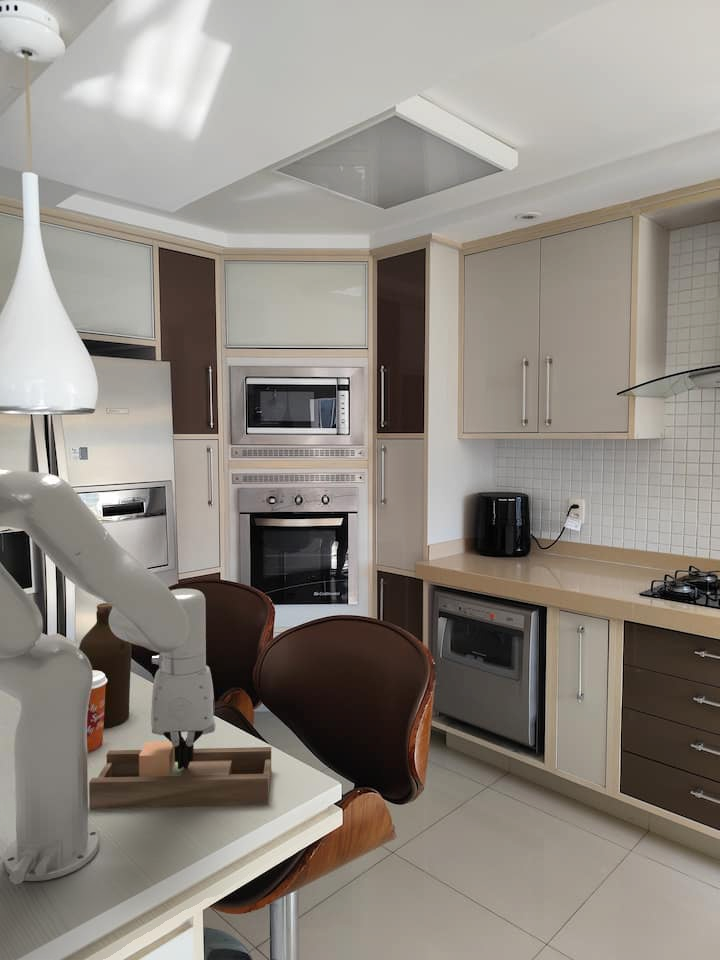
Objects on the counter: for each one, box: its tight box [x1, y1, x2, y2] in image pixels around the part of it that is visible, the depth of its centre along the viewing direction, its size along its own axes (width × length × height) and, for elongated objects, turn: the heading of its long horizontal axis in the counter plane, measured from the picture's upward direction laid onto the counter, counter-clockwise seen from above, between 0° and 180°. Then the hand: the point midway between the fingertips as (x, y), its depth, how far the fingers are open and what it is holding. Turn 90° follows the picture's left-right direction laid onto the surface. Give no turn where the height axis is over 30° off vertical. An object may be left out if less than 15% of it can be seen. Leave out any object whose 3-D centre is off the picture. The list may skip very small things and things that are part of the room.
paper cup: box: [87, 670, 107, 753], centre depth 130 cm, size 8×8×14 cm
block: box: [139, 741, 175, 777], centre depth 115 cm, size 5×5×4 cm
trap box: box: [88, 746, 272, 810], centre depth 115 cm, size 11×29×4 cm, turn 95°
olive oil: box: [78, 602, 133, 729], centre depth 141 cm, size 11×11×25 cm
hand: (184, 764), depth 115 cm, fingers closed
